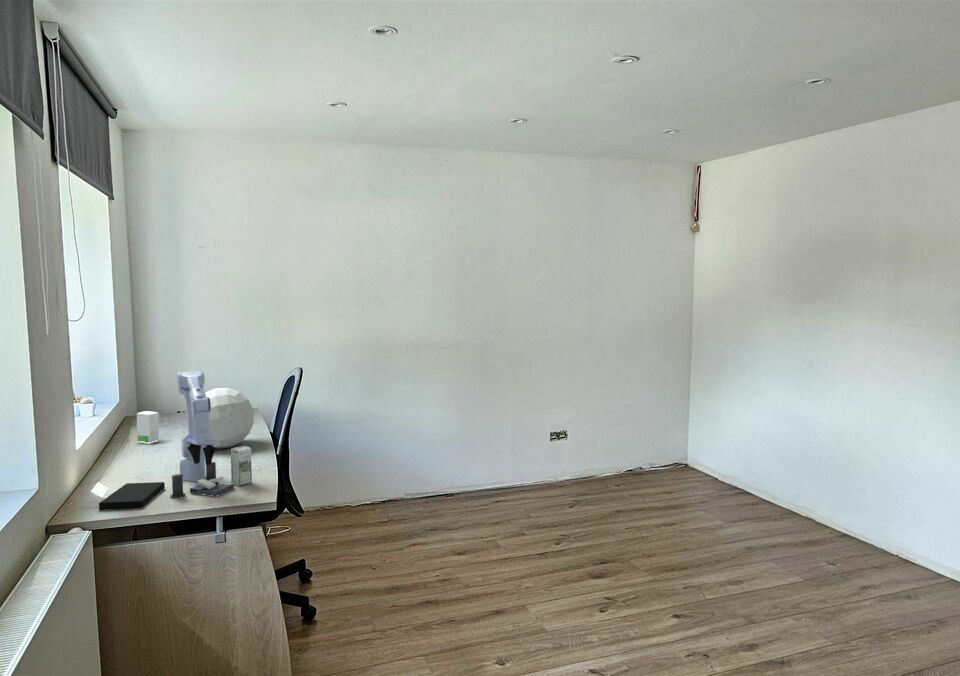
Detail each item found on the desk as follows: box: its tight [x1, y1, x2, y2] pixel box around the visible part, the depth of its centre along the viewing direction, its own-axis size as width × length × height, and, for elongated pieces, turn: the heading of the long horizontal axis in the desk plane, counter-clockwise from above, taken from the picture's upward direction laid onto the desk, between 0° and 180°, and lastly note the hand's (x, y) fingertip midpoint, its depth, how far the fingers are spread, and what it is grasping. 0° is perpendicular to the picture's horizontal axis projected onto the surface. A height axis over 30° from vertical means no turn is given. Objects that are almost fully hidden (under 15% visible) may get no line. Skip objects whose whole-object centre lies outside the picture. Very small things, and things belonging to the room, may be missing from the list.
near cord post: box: [169, 473, 187, 499], centre depth 244 cm, size 5×5×8 cm
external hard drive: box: [98, 481, 166, 511], centre depth 242 cm, size 14×23×3 cm, turn 7°
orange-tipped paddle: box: [209, 476, 224, 483], centre depth 252 cm, size 6×3×1 cm, turn 73°
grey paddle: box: [196, 478, 216, 489], centre depth 248 cm, size 6×3×1 cm, turn 72°
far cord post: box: [205, 461, 217, 481], centre depth 261 cm, size 5×5×8 cm
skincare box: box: [136, 410, 160, 442], centre depth 329 cm, size 8×7×16 cm
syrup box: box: [230, 445, 253, 487], centre depth 260 cm, size 6×6×14 cm
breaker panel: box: [189, 481, 235, 497], centre depth 250 cm, size 12×10×3 cm
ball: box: [205, 387, 255, 449], centre depth 319 cm, size 30×30×30 cm
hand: (202, 463), depth 251 cm, fingers open, 5 cm apart
